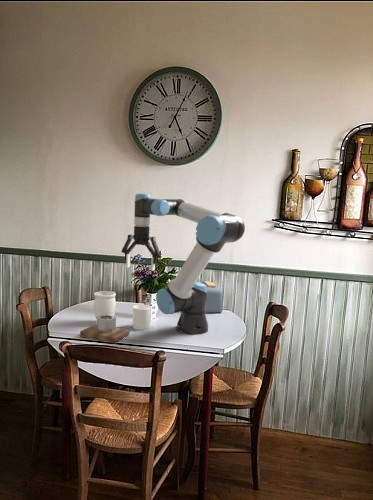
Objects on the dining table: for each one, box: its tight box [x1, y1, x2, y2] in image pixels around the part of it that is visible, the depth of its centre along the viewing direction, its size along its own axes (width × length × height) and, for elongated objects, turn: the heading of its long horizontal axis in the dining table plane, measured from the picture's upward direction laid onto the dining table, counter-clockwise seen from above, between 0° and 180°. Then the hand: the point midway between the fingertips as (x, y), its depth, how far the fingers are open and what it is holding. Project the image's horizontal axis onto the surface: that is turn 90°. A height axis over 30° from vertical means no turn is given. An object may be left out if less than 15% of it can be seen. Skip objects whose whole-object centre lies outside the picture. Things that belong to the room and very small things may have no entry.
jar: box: [93, 290, 117, 324], centre depth 224 cm, size 11×10×15 cm
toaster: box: [201, 280, 224, 314], centre depth 257 cm, size 16×16×16 cm
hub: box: [96, 315, 117, 333], centre depth 207 cm, size 8×8×6 cm
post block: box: [79, 317, 130, 344], centre depth 206 cm, size 18×12×8 cm, turn 69°
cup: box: [132, 304, 152, 331], centre depth 223 cm, size 8×12×10 cm
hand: (140, 268), depth 227 cm, fingers open, 13 cm apart
